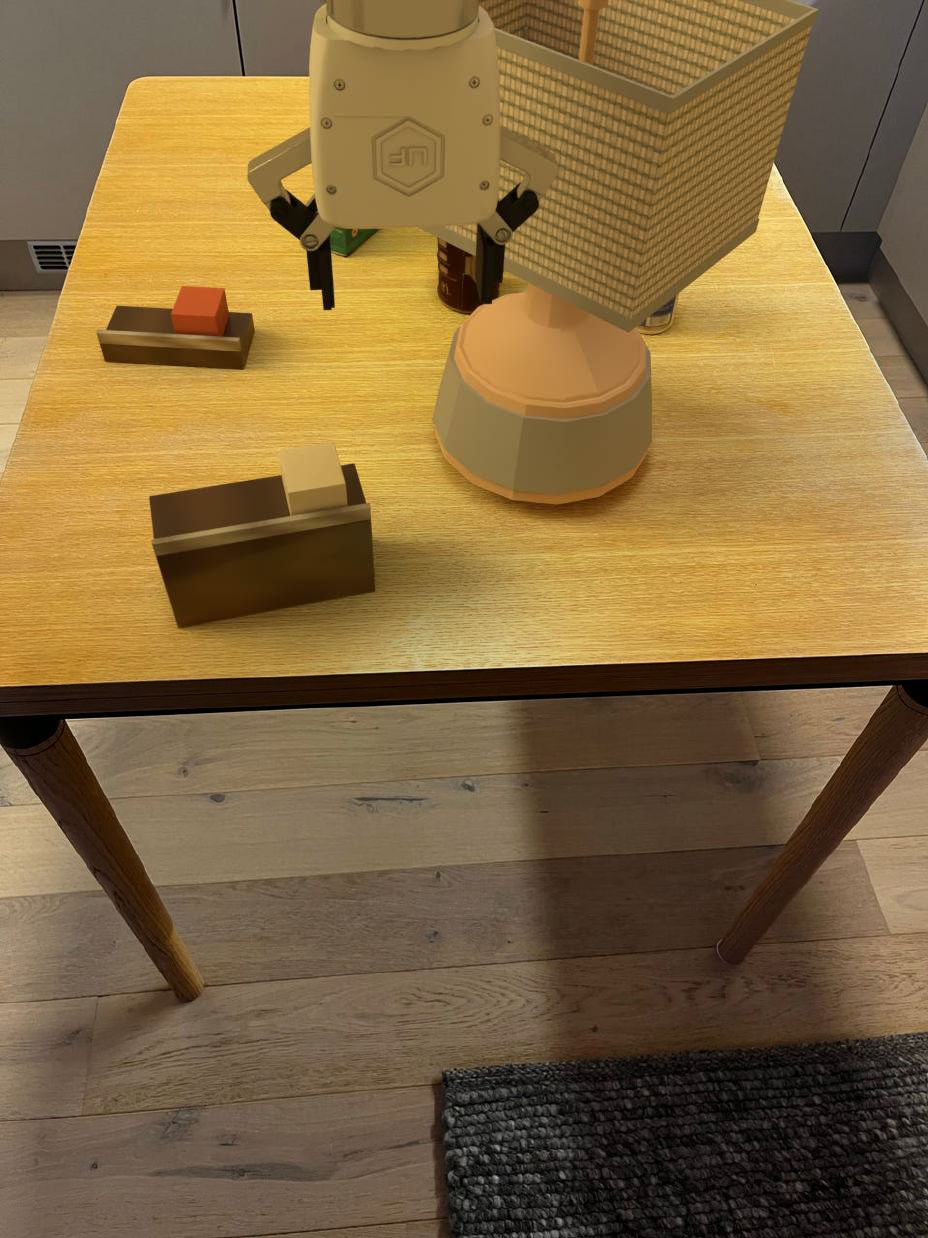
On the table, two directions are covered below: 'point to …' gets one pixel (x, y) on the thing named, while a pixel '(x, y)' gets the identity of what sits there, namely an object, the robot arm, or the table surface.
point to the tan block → (312, 478)
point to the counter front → (258, 549)
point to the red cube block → (200, 311)
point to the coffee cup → (458, 279)
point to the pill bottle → (659, 318)
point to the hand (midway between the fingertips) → (406, 294)
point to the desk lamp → (610, 222)
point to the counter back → (173, 340)
